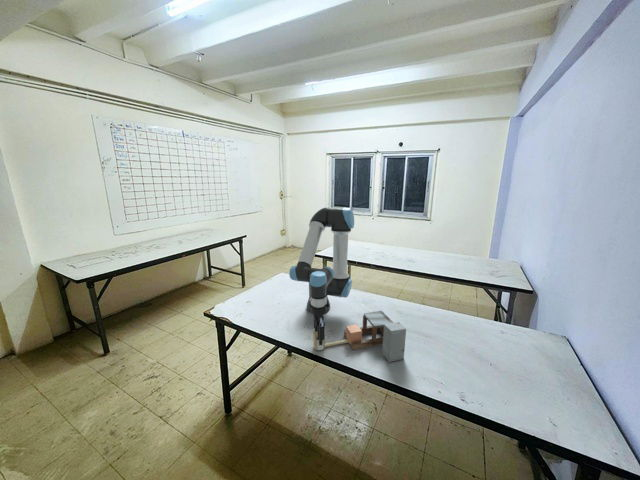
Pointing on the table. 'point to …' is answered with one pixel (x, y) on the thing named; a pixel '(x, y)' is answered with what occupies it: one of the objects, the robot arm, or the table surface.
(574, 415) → the table surface
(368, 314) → the shelf lane
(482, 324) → the table surface
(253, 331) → the table surface
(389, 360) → the skincare box
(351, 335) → the tether block
